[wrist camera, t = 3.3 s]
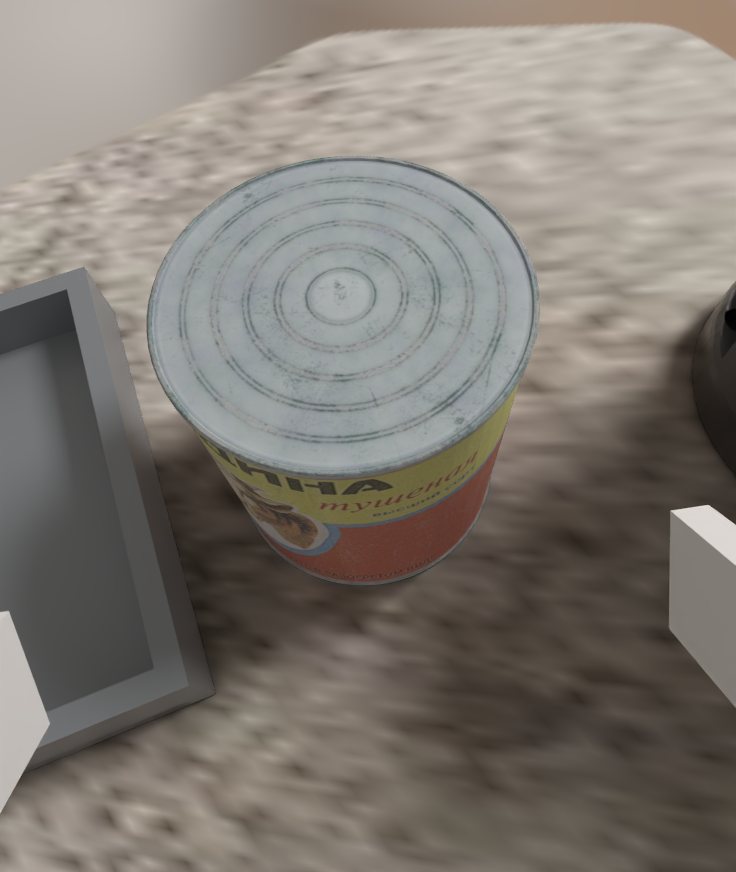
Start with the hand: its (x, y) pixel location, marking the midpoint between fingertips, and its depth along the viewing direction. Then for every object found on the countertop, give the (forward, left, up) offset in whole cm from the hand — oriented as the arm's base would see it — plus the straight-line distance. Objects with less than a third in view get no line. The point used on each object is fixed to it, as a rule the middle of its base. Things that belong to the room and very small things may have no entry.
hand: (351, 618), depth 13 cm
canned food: (-3, -9, -14) cm, 17 cm away
